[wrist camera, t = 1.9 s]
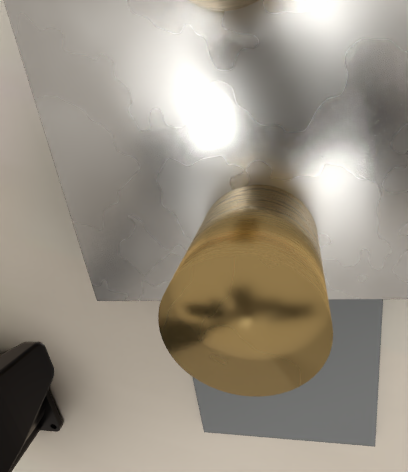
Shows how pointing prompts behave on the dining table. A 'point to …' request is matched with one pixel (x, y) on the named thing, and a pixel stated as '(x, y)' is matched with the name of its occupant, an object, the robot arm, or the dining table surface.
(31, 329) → the dining table surface
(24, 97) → the dining table surface
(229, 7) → the cylinder
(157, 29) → the pan
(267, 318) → the cylinder
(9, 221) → the dining table surface
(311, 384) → the rubber mat
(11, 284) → the dining table surface
